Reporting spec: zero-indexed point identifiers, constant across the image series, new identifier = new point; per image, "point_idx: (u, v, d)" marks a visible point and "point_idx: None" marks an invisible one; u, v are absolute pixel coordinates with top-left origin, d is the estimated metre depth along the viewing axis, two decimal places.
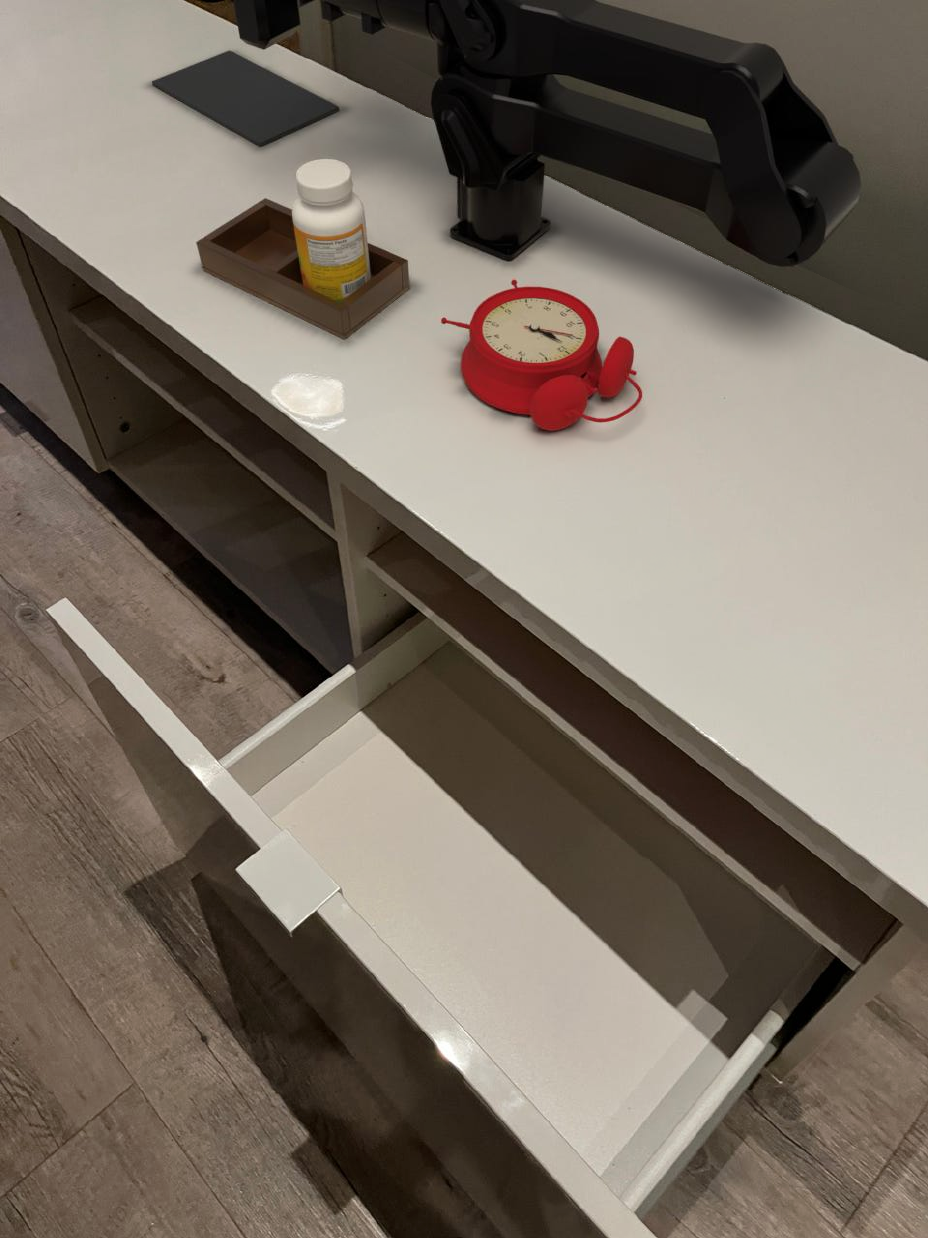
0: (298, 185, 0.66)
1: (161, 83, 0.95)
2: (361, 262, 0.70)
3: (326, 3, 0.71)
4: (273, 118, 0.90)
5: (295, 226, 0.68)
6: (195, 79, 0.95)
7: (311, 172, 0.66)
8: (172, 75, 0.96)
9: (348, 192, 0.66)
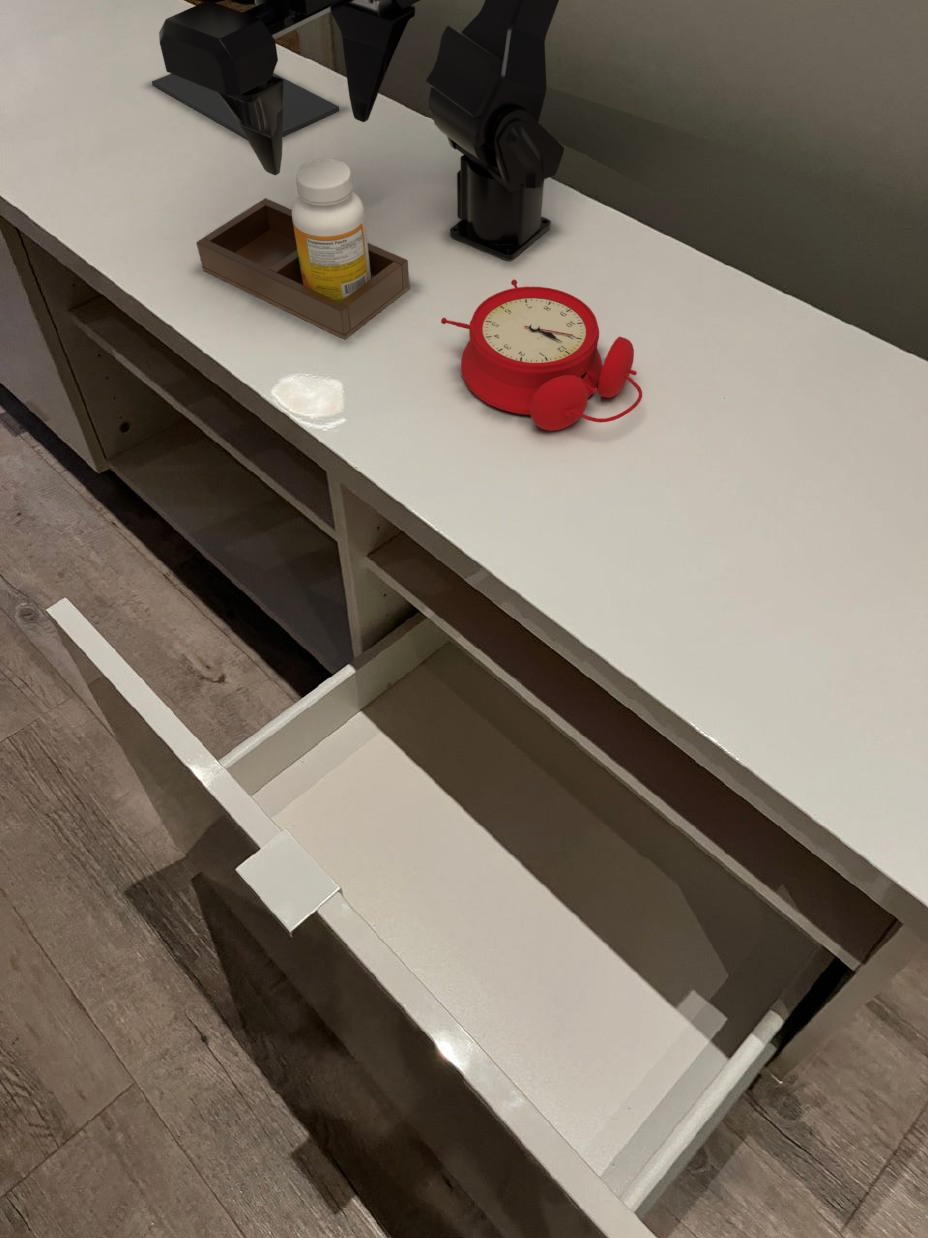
0: (298, 185, 0.66)
1: (161, 83, 0.95)
2: (361, 262, 0.70)
3: None
4: None
5: (295, 226, 0.68)
6: None
7: (311, 172, 0.66)
8: (172, 75, 0.96)
9: (348, 192, 0.66)
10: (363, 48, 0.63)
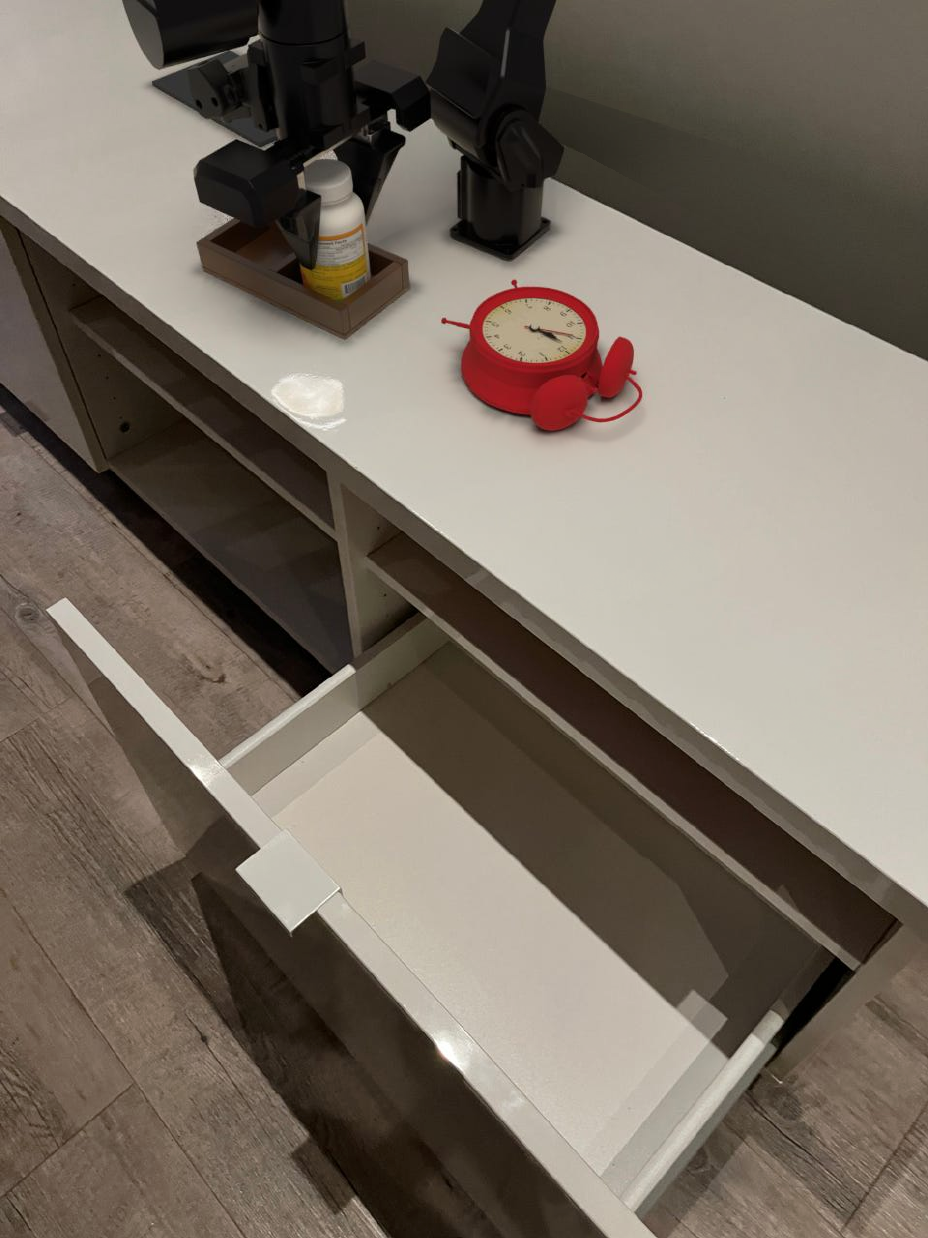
0: None
1: (161, 83, 0.95)
2: (361, 262, 0.70)
3: (310, 135, 0.61)
4: None
5: None
6: None
7: (311, 172, 0.66)
8: (172, 75, 0.96)
9: (348, 192, 0.66)
10: (358, 174, 0.68)
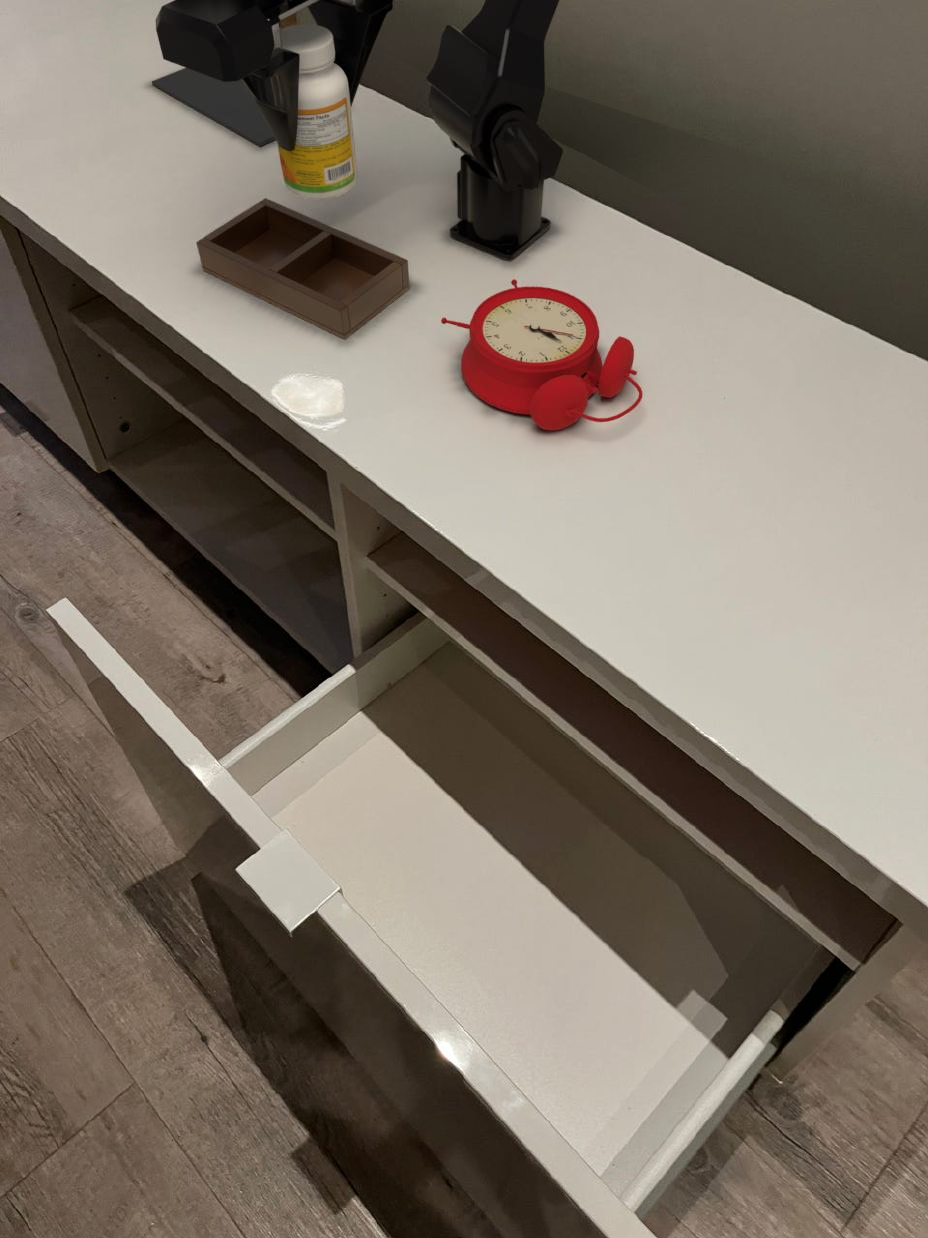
0: None
1: (161, 83, 0.95)
2: (345, 143, 0.64)
3: None
4: None
5: None
6: (195, 79, 0.95)
7: (289, 36, 0.60)
8: (172, 75, 0.96)
9: (330, 59, 0.60)
10: (341, 43, 0.62)
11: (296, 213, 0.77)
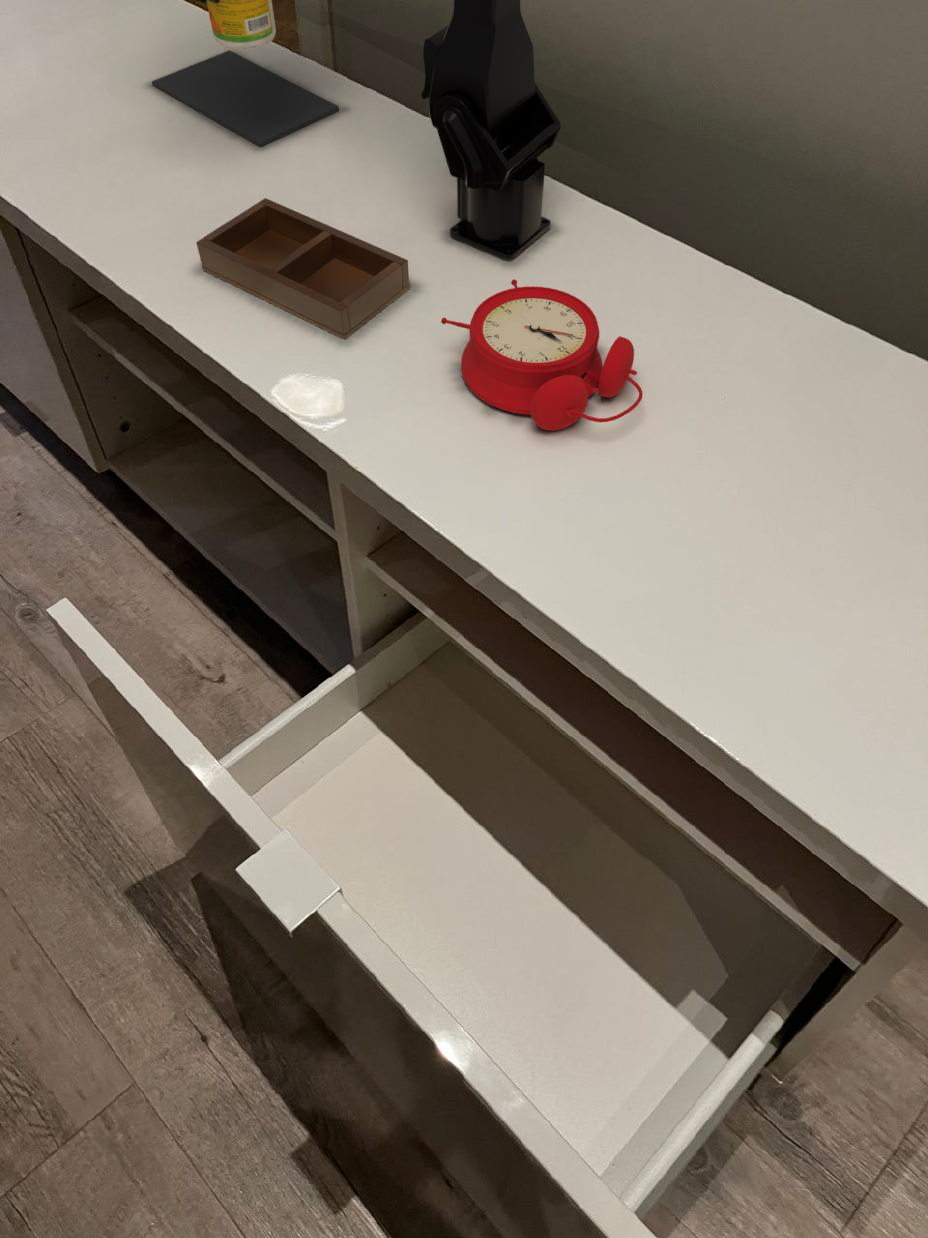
0: None
1: (161, 83, 0.95)
2: None
3: None
4: (273, 118, 0.90)
5: None
6: (195, 79, 0.95)
7: None
8: (172, 75, 0.96)
9: None
10: None
11: (296, 213, 0.77)
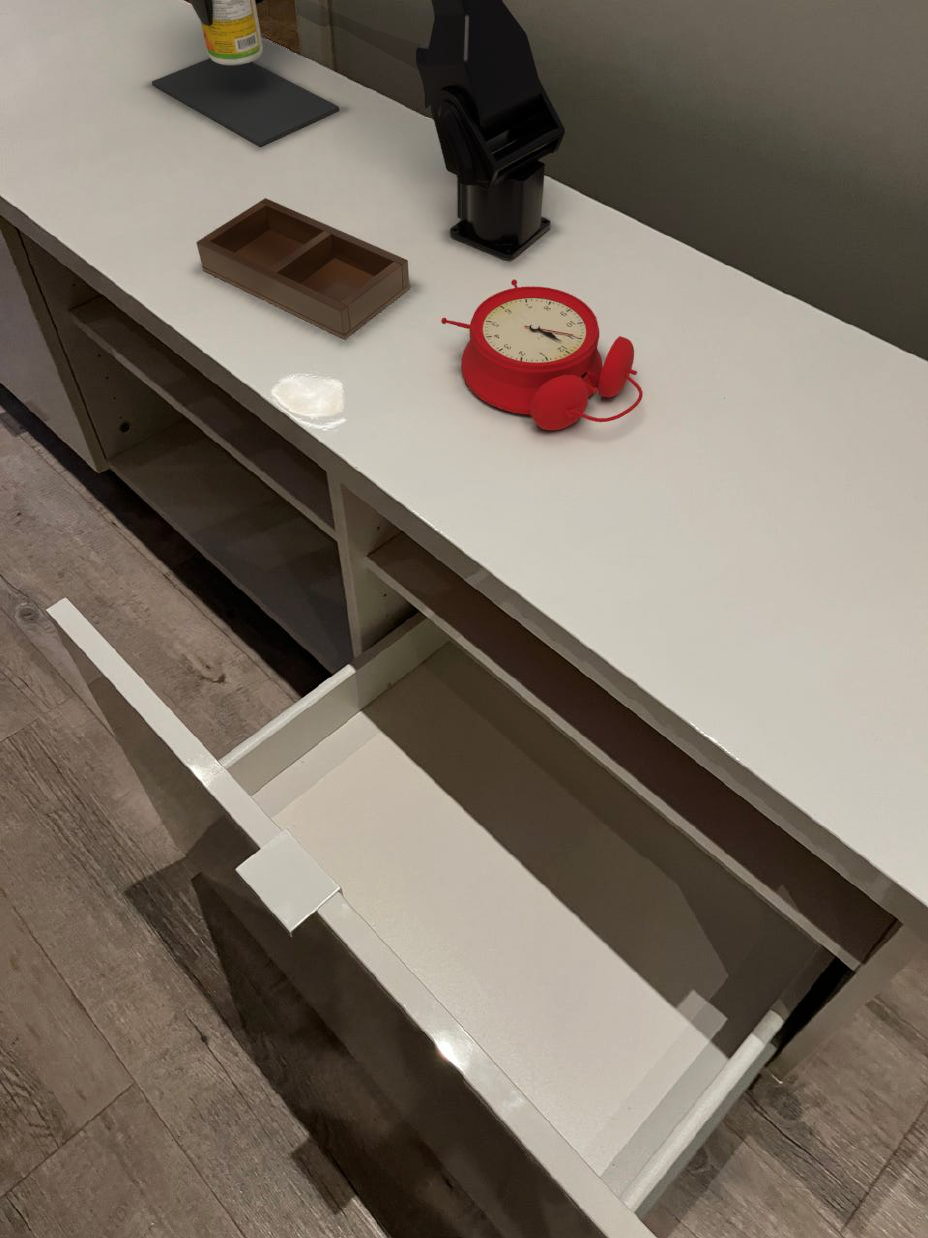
0: None
1: (161, 83, 0.95)
2: (250, 20, 0.87)
3: None
4: (273, 118, 0.90)
5: None
6: (195, 79, 0.95)
7: None
8: (172, 75, 0.96)
9: None
10: None
11: (296, 213, 0.77)
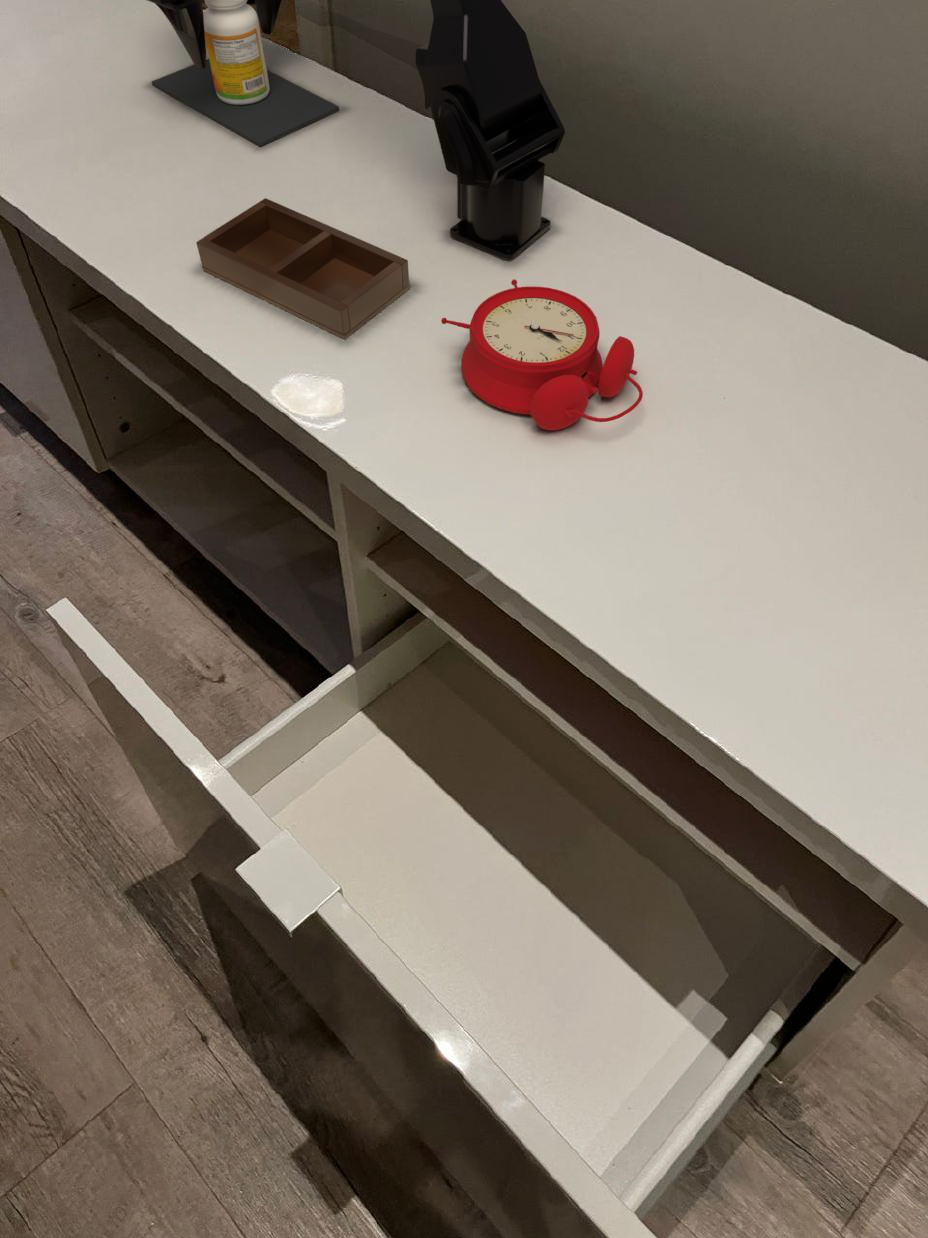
0: None
1: (161, 83, 0.95)
2: (257, 63, 0.90)
3: None
4: (273, 118, 0.90)
5: None
6: (195, 79, 0.95)
7: None
8: (172, 75, 0.96)
9: (243, 0, 0.86)
10: None
11: (296, 213, 0.77)
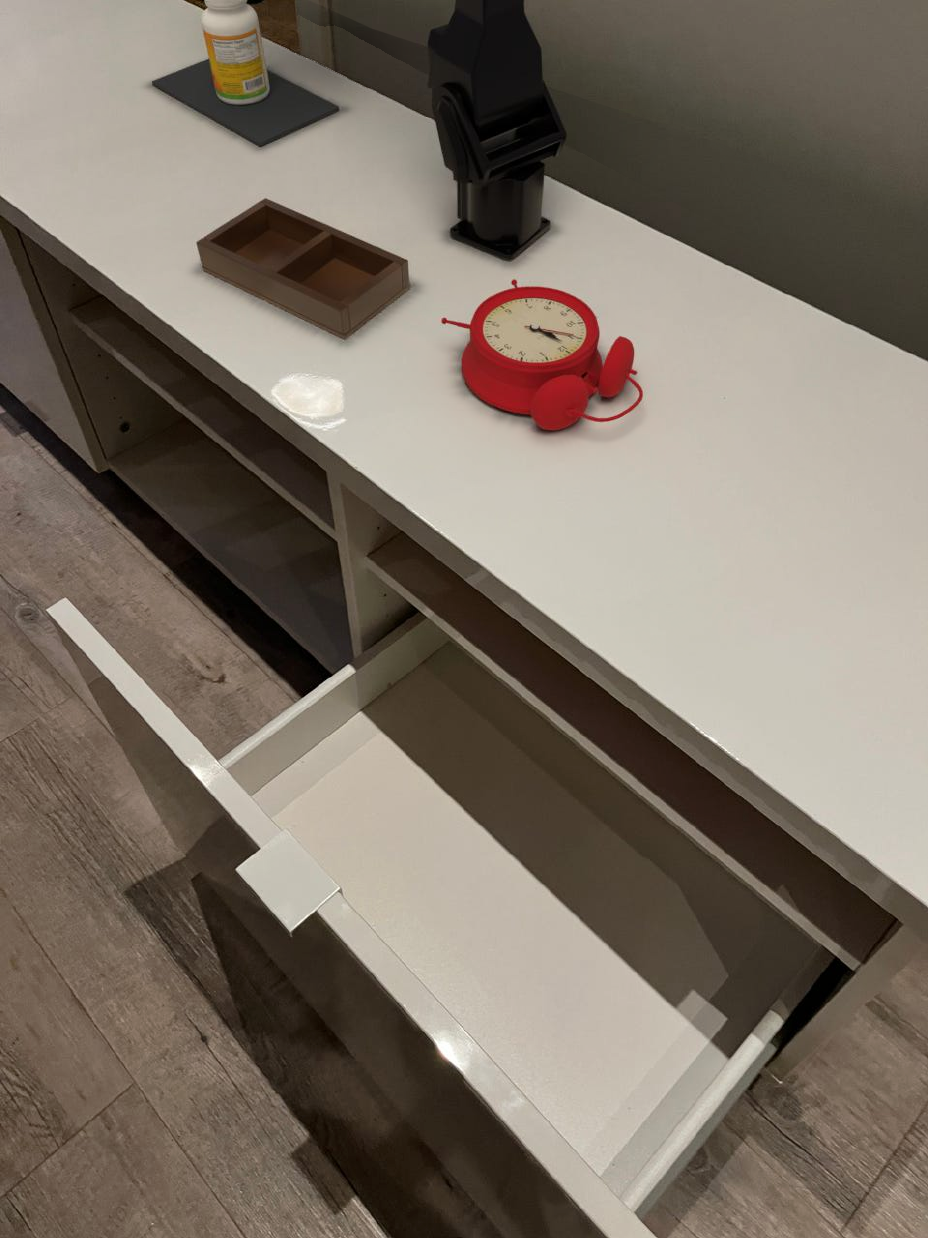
0: None
1: (161, 83, 0.95)
2: (257, 63, 0.90)
3: None
4: (273, 118, 0.90)
5: (203, 30, 0.87)
6: (195, 79, 0.95)
7: None
8: (172, 75, 0.96)
9: (242, 0, 0.86)
10: None
11: (296, 213, 0.77)
